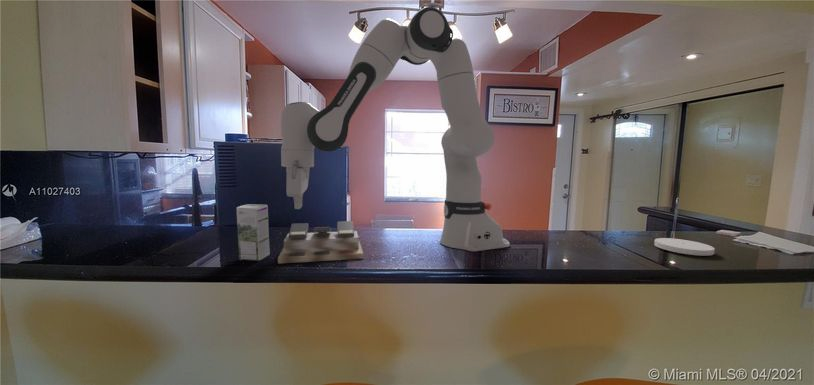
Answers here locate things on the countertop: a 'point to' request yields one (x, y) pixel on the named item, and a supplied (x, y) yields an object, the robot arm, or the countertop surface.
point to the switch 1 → (298, 230)
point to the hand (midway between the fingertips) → (298, 208)
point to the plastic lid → (684, 246)
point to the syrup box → (253, 232)
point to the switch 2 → (345, 229)
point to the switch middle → (321, 229)
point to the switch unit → (320, 248)
